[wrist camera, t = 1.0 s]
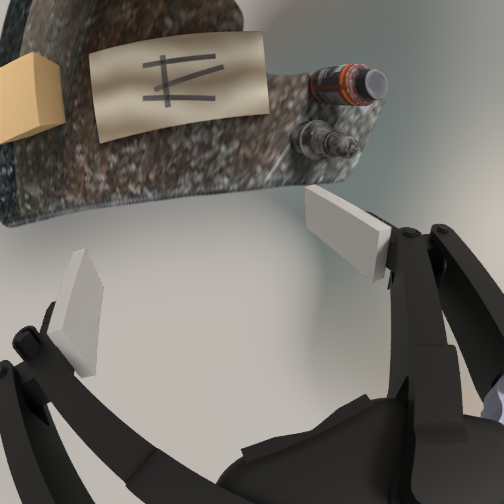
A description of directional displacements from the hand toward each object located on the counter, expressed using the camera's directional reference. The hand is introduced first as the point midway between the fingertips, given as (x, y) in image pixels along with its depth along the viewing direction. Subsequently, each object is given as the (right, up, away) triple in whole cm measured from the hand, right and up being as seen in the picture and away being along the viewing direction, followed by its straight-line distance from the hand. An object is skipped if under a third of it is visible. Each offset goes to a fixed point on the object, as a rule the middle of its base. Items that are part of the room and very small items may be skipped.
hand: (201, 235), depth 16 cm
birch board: (-6, +20, +14) cm, 26 cm away
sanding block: (-23, +18, +8) cm, 30 cm away
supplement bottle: (+14, +24, +21) cm, 34 cm away
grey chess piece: (+11, +16, +24) cm, 30 cm away
